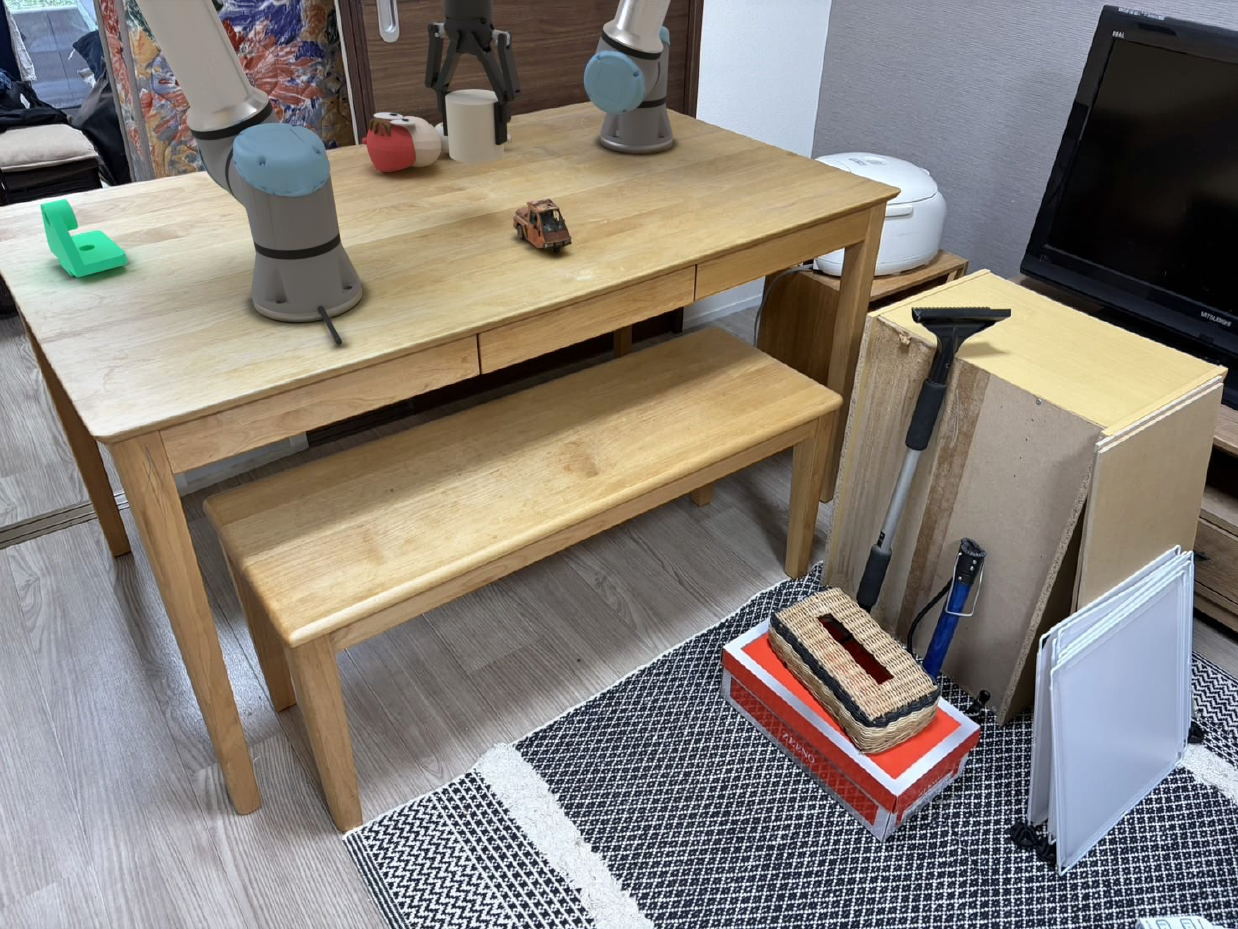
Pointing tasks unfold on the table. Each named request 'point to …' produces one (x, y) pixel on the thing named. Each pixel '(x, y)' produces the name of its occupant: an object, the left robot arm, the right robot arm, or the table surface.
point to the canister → (472, 126)
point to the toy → (404, 142)
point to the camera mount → (78, 242)
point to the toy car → (542, 225)
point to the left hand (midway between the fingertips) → (475, 138)
